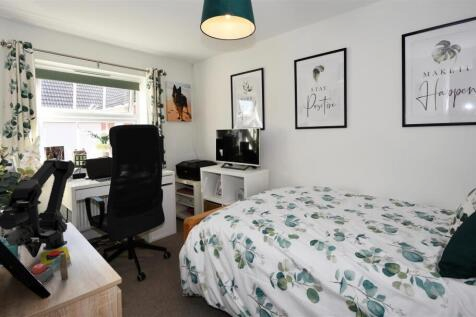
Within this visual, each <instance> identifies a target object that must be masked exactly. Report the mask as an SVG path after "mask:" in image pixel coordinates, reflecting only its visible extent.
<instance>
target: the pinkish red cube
mask: <svg viewBox="0 0 476 317" xmlns="http://www.w3.org/2000/svg"><path fill="white" fill-rule="evenodd" d="M31 269H32V270H31V271H32V272H33V275H41V274H42V273H44V272H45V271H46V264H41V263H37V264H35V265H34V266H32V267H31Z"/></svg>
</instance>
